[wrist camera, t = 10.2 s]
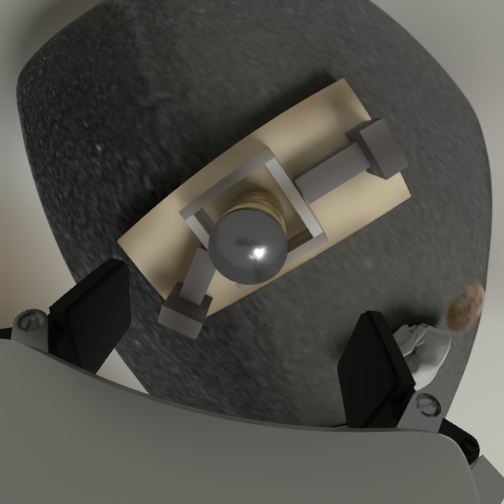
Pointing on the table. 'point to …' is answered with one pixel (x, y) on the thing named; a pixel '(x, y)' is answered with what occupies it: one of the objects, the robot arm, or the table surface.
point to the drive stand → (279, 184)
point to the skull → (423, 350)
